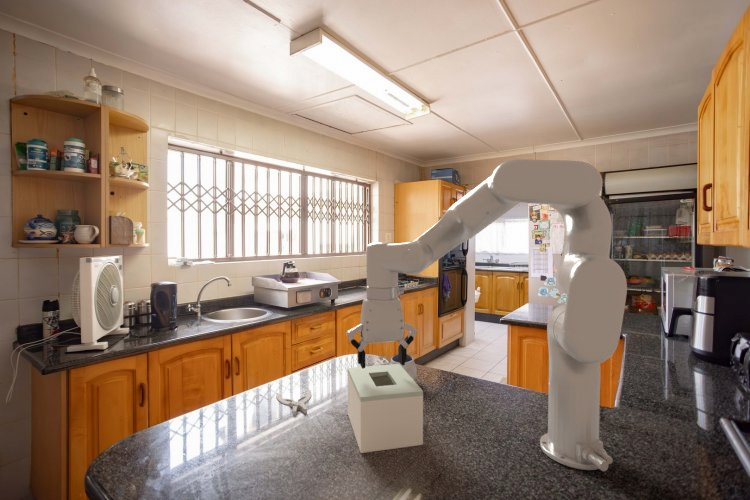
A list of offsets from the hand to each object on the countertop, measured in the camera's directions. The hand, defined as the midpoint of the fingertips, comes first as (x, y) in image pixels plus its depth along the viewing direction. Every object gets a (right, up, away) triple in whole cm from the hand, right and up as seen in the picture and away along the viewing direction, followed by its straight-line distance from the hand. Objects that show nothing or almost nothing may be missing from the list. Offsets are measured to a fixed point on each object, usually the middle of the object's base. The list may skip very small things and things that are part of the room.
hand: (382, 364), depth 87 cm
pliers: (-24, -16, +14) cm, 32 cm away
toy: (+2, -15, +24) cm, 29 cm away
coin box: (0, -15, 0) cm, 15 cm away
